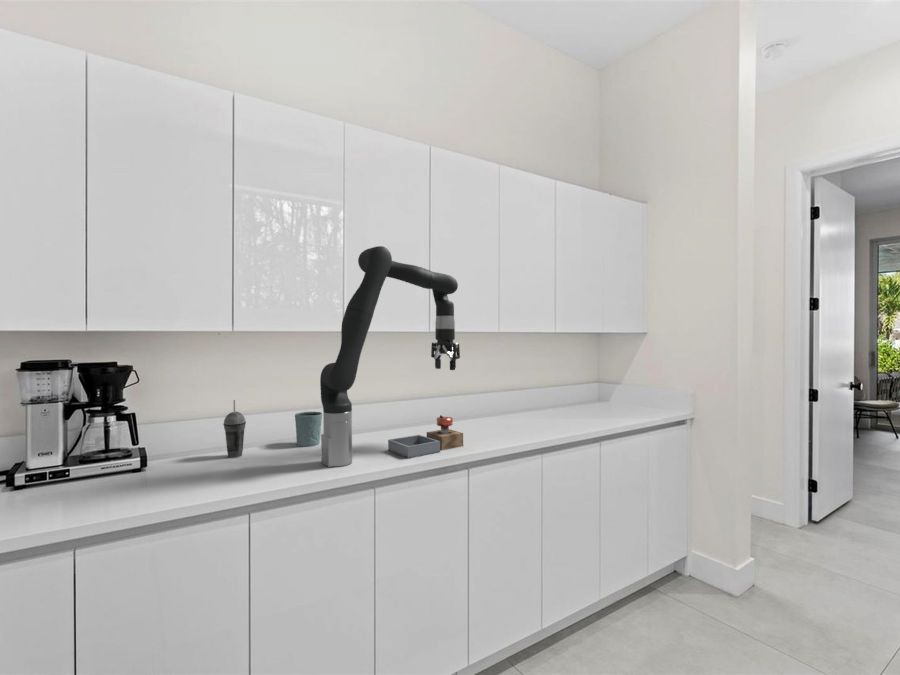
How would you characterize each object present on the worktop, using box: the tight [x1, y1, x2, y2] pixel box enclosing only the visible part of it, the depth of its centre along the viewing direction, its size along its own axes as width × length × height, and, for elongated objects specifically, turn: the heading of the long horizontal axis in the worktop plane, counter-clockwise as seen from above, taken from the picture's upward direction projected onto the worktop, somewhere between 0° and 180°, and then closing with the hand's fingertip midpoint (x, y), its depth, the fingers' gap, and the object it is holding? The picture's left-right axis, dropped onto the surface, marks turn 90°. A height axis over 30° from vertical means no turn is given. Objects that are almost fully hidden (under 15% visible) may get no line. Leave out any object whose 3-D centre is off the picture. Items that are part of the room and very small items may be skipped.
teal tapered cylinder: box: [294, 411, 323, 448], centre depth 182 cm, size 10×10×12 cm
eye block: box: [426, 428, 464, 451], centre depth 178 cm, size 10×10×5 cm
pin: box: [436, 414, 454, 434], centre depth 178 cm, size 6×6×11 cm
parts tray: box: [387, 434, 441, 459], centre depth 170 cm, size 14×14×4 cm
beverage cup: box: [222, 399, 247, 459], centre depth 165 cm, size 7×7×20 cm
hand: (445, 369), depth 182 cm, fingers open, 8 cm apart
